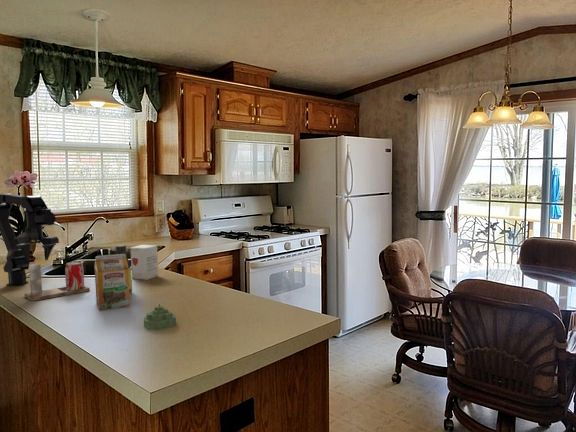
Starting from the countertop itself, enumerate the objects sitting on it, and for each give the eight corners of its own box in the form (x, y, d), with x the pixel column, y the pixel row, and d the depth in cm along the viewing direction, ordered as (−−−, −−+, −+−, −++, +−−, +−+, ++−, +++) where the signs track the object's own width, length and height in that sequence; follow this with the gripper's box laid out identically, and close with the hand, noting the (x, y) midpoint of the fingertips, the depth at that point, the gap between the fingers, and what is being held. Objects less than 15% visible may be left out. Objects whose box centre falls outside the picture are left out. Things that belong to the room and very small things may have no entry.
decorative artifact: (142, 323, 156) (146, 332, 147) (141, 302, 156) (145, 310, 147) (173, 319, 160) (178, 327, 151) (172, 298, 160) (177, 306, 150)
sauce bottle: (135, 292, 197) (133, 244, 196) (125, 295, 191) (123, 247, 190) (122, 291, 200) (120, 244, 198) (112, 294, 194) (110, 246, 192)
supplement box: (130, 278, 224) (129, 247, 222) (143, 274, 232) (142, 244, 231) (146, 280, 220) (145, 248, 219) (158, 276, 228) (157, 245, 227)
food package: (99, 310, 171) (96, 258, 169) (96, 304, 180) (93, 254, 179) (130, 306, 176) (127, 255, 174) (125, 300, 185) (123, 251, 183)
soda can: (80, 293, 197) (78, 264, 196) (63, 293, 197) (61, 264, 196) (87, 289, 204) (85, 261, 203) (71, 289, 204) (69, 261, 203)
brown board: (32, 301, 185) (30, 267, 184) (24, 296, 192) (22, 264, 191) (89, 290, 200) (88, 259, 199) (80, 286, 208) (78, 256, 207)
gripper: (1, 226, 200) (4, 263, 202) (40, 226, 197) (43, 263, 198) (20, 224, 211) (23, 258, 213) (58, 223, 208) (60, 259, 209)
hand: (37, 260), depth 208 cm, fingers open, 9 cm apart
